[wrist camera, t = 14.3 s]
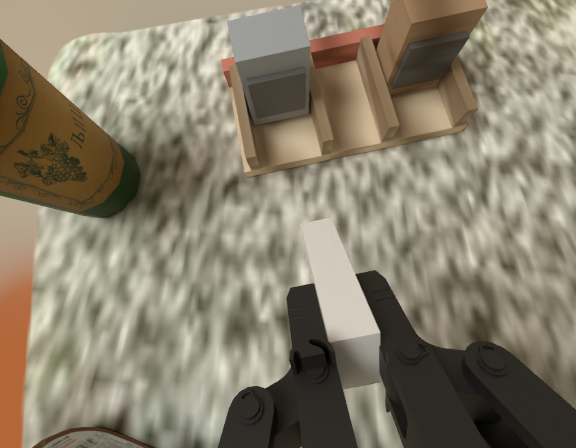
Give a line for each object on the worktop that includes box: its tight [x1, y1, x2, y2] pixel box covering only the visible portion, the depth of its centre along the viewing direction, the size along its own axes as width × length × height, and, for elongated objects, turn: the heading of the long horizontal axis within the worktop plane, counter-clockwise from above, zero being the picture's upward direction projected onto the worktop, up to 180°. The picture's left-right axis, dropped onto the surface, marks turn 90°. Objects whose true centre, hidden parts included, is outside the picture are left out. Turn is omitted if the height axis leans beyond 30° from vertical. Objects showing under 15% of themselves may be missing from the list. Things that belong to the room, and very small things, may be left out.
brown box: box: [376, 0, 488, 96], centre depth 27 cm, size 6×5×9 cm
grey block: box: [227, 5, 311, 125], centre depth 27 cm, size 6×5×9 cm
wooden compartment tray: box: [221, 24, 478, 177], centre depth 31 cm, size 24×12×4 cm, turn 102°
